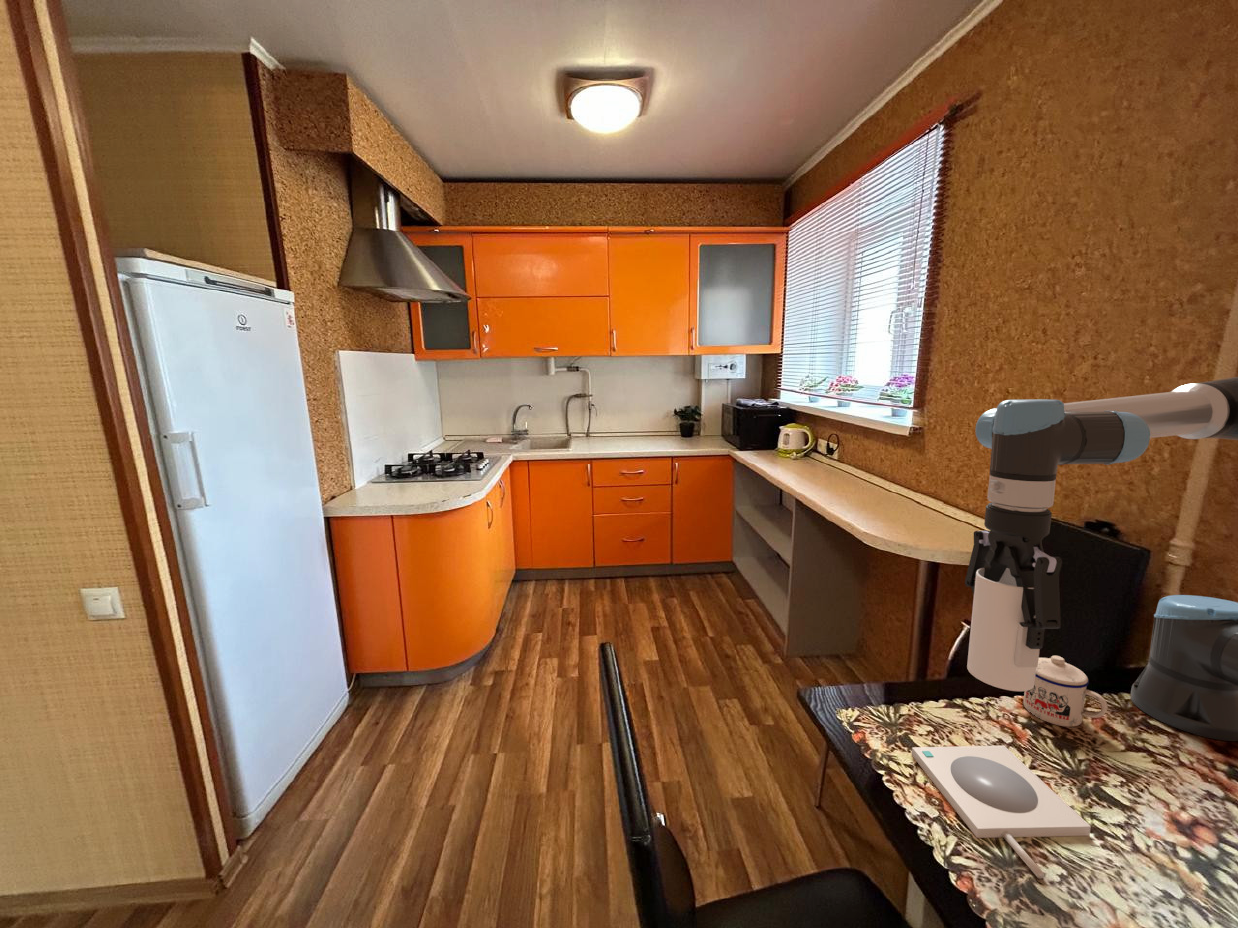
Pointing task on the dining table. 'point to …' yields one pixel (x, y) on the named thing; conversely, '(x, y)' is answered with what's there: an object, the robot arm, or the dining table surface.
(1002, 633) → the cup
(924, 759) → the pad
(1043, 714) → the teacup with lid
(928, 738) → the dining table surface
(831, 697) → the dining table surface
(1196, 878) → the dining table surface
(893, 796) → the dining table surface
